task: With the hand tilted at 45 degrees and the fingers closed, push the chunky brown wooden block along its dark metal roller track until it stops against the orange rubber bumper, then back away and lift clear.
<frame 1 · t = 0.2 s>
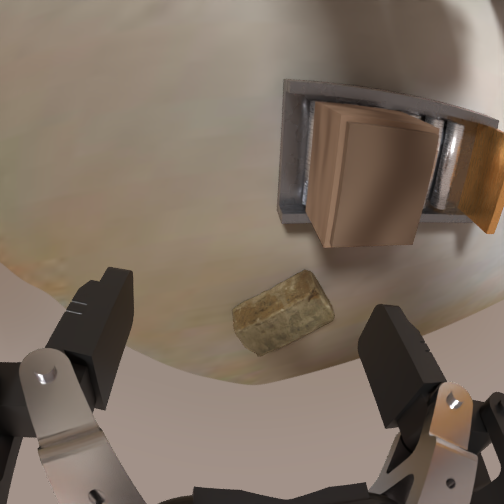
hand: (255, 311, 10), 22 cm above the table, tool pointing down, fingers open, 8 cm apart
brown wooden block: (369, 174, 24), point 7 cm above the table, slide at 0.0 cm
roller track: (394, 153, 30), on the table
stone block: (277, 299, 40), on the table
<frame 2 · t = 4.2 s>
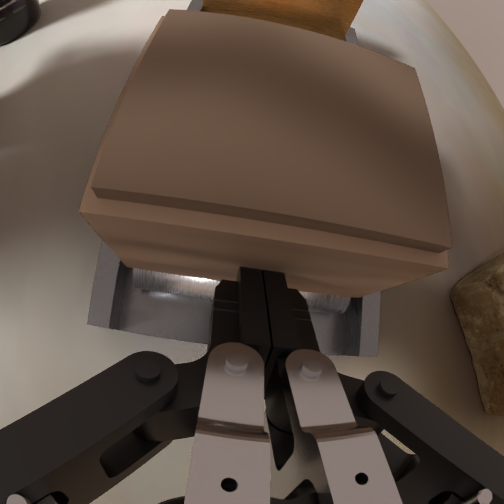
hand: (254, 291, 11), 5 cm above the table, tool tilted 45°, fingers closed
brown wooden block: (273, 157, 11), point 7 cm above the table, slide at 0.6 cm, touching gripper
roller track: (255, 140, 19), on the table
stone block: (485, 340, 19), on the table
supplement bottle: (14, 28, 19), on the table
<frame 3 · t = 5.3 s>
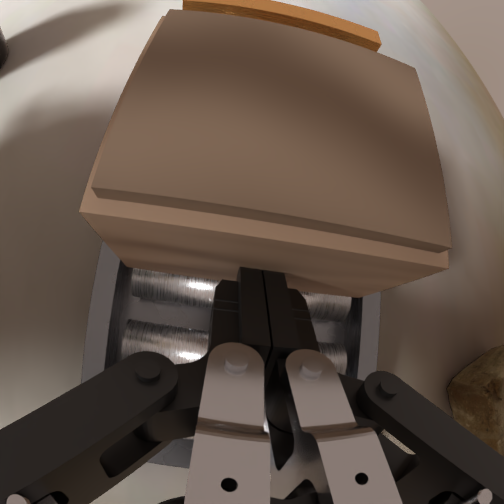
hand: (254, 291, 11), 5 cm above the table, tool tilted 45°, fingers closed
brown wooden block: (274, 157, 11), point 7 cm above the table, slide at 7.0 cm, touching gripper
roller track: (244, 239, 17), on the table
stone block: (476, 423, 17), on the table
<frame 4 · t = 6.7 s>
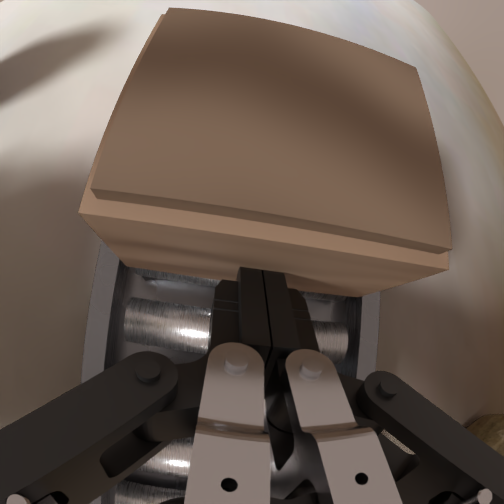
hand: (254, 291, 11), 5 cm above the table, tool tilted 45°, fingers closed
brown wooden block: (274, 156, 11), point 7 cm above the table, slide at 12.1 cm, touching gripper
roller track: (232, 334, 16), on the table
stone block: (461, 480, 16), on the table
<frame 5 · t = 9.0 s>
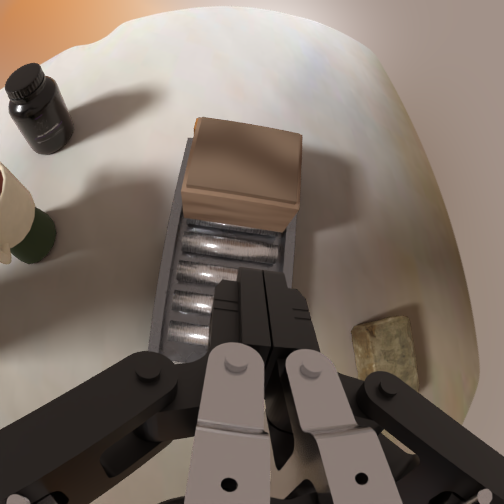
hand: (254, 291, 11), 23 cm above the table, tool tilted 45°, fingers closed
brown wooden block: (242, 174, 30), point 7 cm above the table, slide at 12.0 cm
roller track: (228, 253, 35), on the table
stone block: (374, 368, 34), on the table
character mug: (36, 239, 32), on the table
supplement bottle: (53, 136, 36), on the table
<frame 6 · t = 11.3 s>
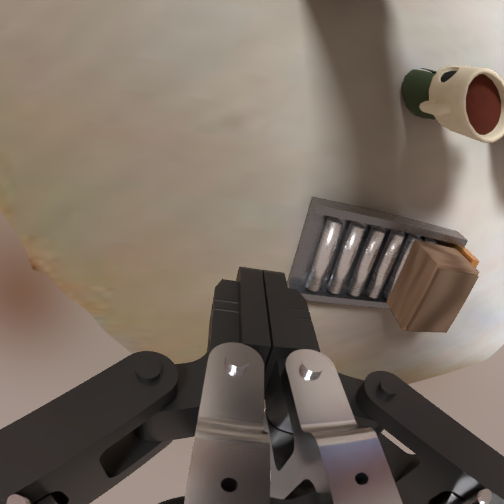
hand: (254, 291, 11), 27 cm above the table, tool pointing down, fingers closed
brown wooden block: (433, 289, 38), point 7 cm above the table, slide at 12.0 cm
roller track: (379, 257, 43), on the table
character mug: (420, 92, 32), on the table
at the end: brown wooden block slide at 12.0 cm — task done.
